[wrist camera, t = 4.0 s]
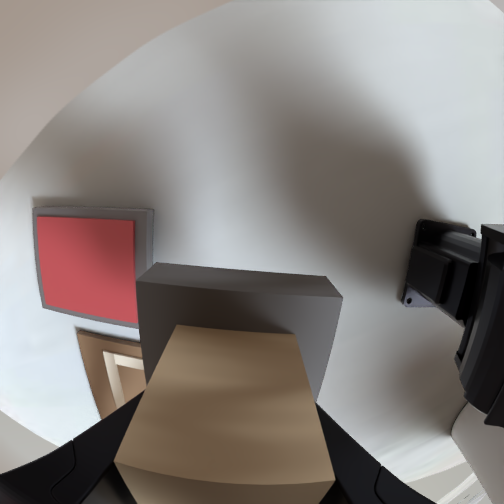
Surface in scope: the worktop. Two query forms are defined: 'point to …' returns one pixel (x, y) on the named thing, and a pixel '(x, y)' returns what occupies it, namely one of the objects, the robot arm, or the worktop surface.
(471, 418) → the cylinder vase
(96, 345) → the marked board
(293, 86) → the worktop surface
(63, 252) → the ink pad
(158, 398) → the stamp
